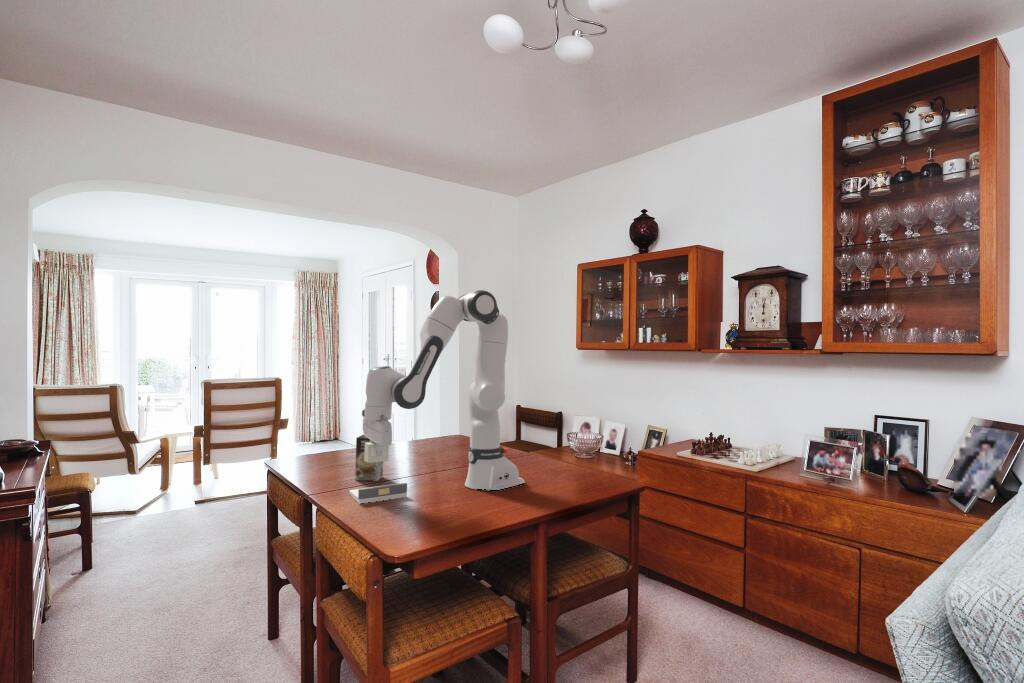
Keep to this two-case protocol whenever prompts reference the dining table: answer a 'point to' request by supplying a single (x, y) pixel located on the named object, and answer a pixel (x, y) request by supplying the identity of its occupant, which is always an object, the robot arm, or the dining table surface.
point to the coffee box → (362, 467)
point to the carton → (374, 453)
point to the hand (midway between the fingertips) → (376, 454)
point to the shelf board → (379, 493)
